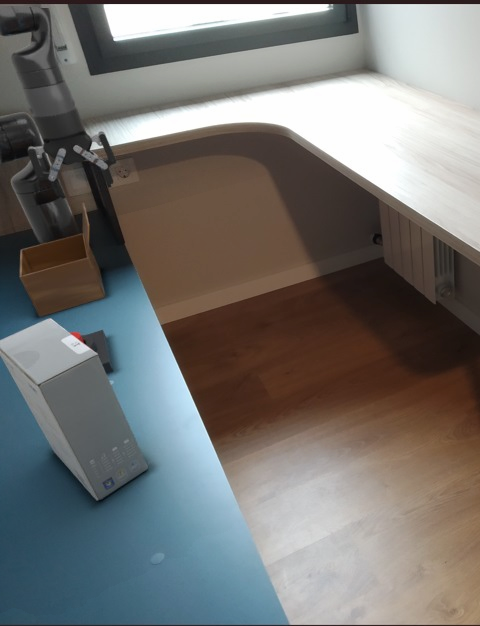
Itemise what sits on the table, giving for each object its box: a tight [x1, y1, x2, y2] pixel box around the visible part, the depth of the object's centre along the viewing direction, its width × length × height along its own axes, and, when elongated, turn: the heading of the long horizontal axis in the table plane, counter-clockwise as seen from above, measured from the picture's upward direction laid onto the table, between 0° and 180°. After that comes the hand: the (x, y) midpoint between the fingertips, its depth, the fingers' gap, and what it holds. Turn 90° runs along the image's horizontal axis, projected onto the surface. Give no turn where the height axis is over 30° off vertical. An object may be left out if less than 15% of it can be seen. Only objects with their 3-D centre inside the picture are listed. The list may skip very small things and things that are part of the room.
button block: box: [80, 329, 114, 375], centre depth 109 cm, size 12×10×4 cm
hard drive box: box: [0, 318, 149, 501], centre depth 83 cm, size 16×8×20 cm, turn 48°
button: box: [69, 331, 85, 344], centre depth 107 cm, size 4×4×2 cm
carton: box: [19, 232, 107, 318], centre depth 131 cm, size 15×13×9 cm
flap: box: [82, 202, 90, 255], centre depth 129 cm, size 15×6×1 cm
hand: (86, 191), depth 123 cm, fingers open, 8 cm apart
